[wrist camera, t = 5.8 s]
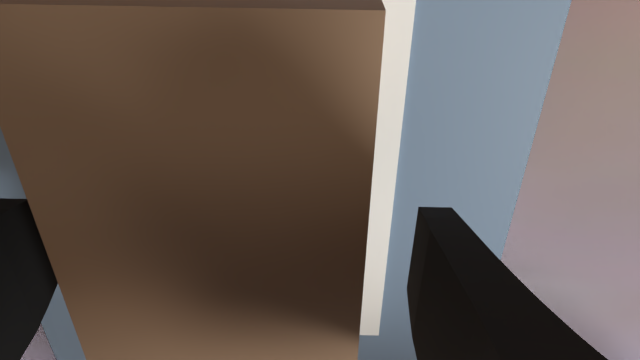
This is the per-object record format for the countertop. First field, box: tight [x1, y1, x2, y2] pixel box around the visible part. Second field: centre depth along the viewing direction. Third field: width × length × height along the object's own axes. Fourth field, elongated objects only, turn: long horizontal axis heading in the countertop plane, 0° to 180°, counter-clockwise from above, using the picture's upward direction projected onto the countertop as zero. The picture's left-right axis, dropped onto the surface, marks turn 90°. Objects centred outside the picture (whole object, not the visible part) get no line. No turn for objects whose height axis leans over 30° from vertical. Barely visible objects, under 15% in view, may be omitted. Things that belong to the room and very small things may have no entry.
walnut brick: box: [0, 0, 386, 360], centre depth 10 cm, size 9×5×4 cm, turn 179°
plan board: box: [0, 0, 571, 360], centre depth 12 cm, size 20×13×1 cm, turn 179°
